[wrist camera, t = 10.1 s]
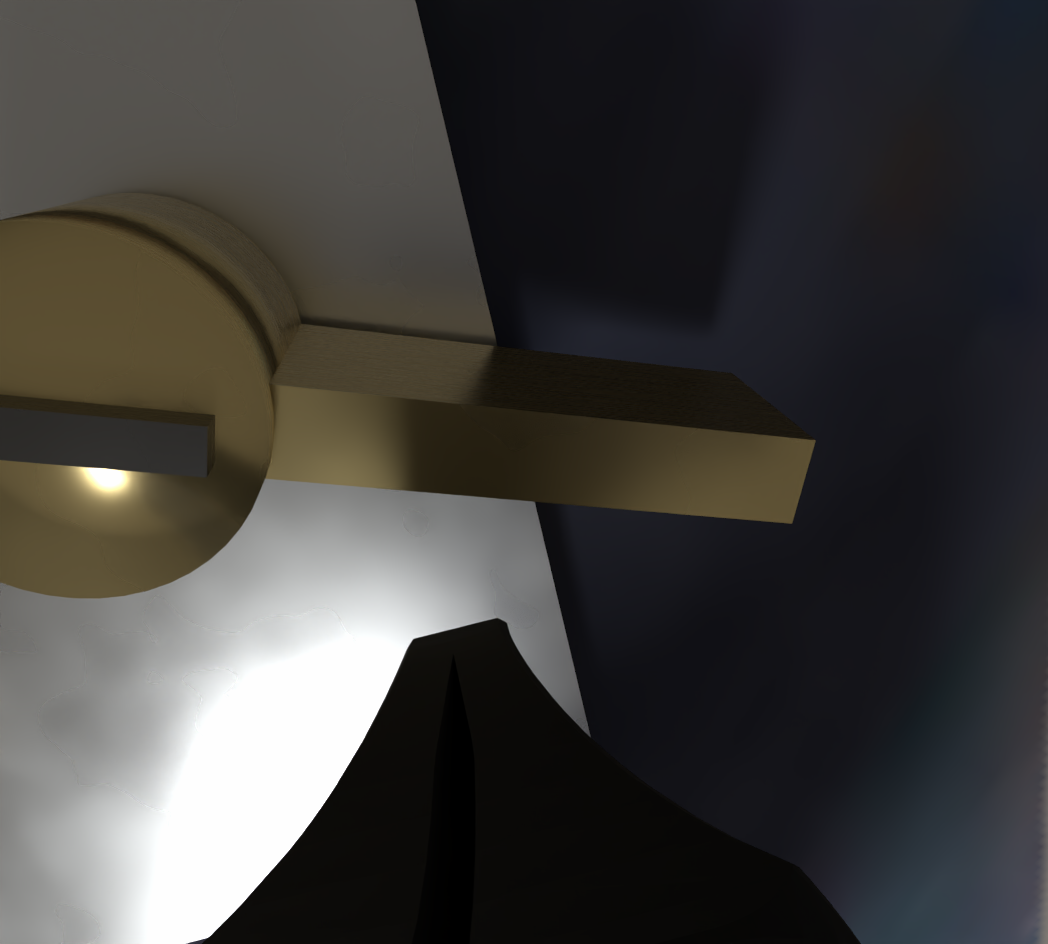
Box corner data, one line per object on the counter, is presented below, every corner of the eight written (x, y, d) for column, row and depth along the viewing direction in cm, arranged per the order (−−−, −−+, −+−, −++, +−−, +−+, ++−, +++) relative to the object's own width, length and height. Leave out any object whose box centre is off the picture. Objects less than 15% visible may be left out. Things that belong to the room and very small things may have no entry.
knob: (6, 469, 13) (-150, 603, 10) (-18, 171, 12) (-216, 194, 8) (695, 526, 15) (784, 657, 11) (755, 275, 14) (883, 333, 10)
